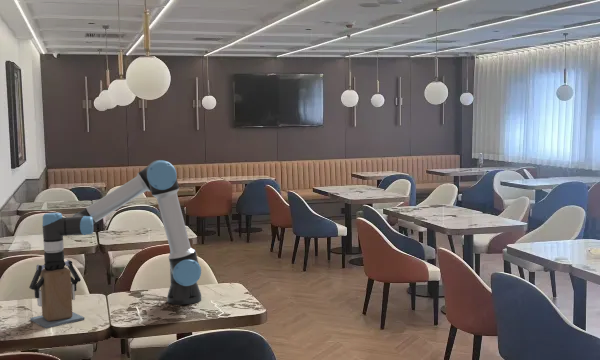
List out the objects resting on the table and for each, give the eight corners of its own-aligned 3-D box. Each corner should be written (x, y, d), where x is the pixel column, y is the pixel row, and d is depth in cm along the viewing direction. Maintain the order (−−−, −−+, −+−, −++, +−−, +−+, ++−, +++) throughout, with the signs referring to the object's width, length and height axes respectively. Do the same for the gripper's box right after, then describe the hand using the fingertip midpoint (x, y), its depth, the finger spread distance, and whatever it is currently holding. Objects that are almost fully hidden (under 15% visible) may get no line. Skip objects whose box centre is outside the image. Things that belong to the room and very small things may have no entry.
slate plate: (68, 312, 282) (68, 310, 282) (84, 319, 271) (84, 317, 271) (30, 320, 272) (30, 317, 272) (45, 328, 260) (45, 325, 260)
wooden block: (73, 318, 270) (70, 269, 268) (47, 322, 264) (45, 273, 263) (66, 312, 278) (64, 265, 277) (41, 316, 272) (39, 268, 271)
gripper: (79, 245, 280) (81, 295, 282) (19, 254, 263) (22, 306, 265) (87, 247, 275) (89, 298, 276) (26, 256, 258) (28, 310, 259)
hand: (56, 302), depth 271 cm, fingers open, 13 cm apart
